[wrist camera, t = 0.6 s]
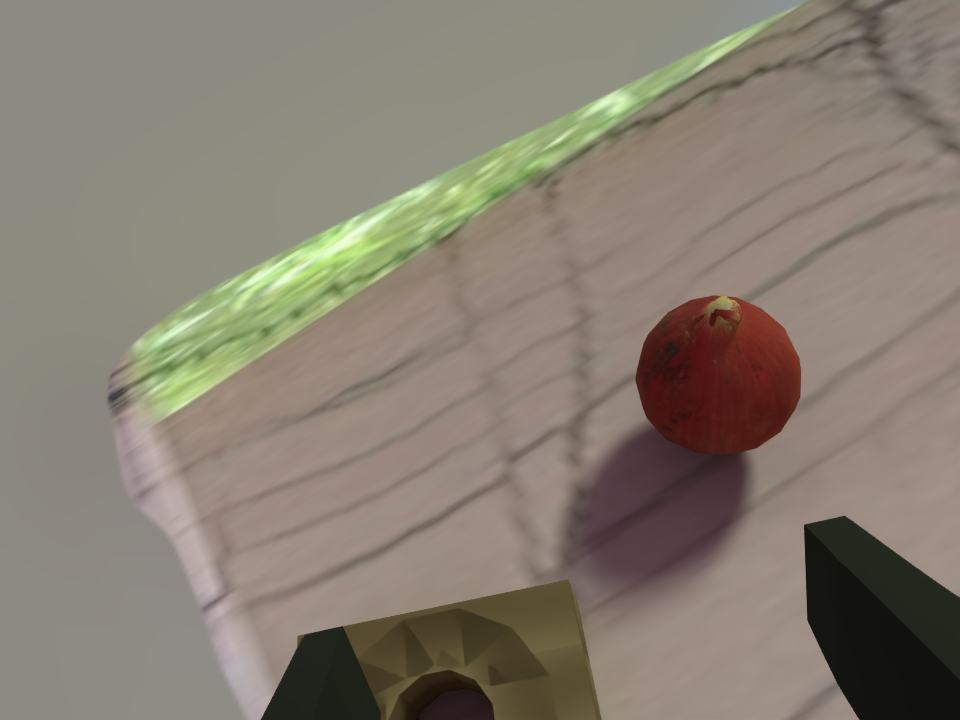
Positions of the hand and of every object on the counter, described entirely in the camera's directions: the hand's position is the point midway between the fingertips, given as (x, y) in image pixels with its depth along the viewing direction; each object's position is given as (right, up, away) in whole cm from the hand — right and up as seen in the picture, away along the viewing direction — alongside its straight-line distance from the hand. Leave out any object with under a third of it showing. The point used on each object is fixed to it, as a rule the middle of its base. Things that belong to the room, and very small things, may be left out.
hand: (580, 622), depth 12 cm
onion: (+8, +1, +20) cm, 21 cm away
